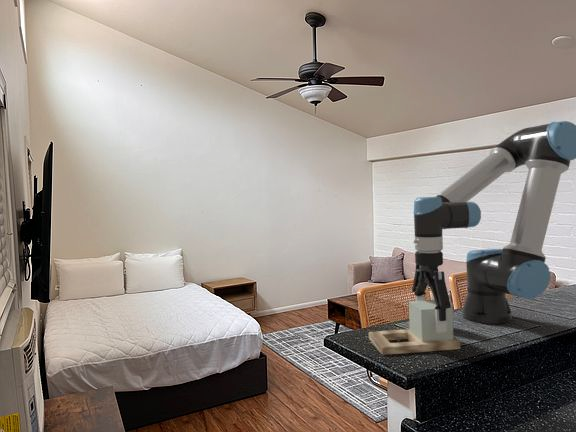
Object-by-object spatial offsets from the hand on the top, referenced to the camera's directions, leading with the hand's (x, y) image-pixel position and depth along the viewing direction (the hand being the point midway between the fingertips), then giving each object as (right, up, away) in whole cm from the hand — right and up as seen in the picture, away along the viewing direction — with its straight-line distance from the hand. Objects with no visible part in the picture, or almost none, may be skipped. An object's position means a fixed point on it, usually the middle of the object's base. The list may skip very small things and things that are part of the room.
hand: (430, 324), depth 120 cm
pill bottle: (+8, -5, +11) cm, 14 cm away
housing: (0, -3, 0) cm, 3 cm away
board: (-5, -6, 0) cm, 8 cm away
